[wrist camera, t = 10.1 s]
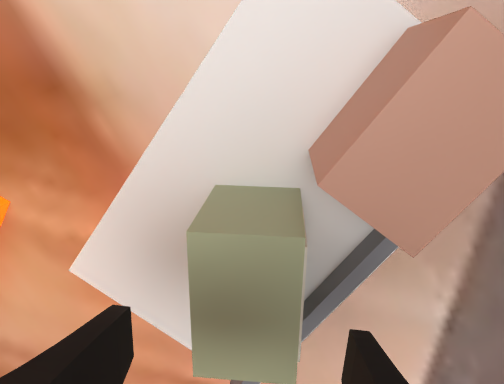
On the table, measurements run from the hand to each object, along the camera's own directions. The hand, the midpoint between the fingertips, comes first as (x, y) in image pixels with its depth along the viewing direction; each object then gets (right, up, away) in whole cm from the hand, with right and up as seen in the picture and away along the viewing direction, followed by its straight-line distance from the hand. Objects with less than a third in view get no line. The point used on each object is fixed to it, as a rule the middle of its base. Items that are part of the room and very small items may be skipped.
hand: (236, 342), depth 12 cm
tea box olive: (+1, +2, +9) cm, 9 cm away
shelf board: (+1, +5, +8) cm, 10 cm away
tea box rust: (+7, +8, +6) cm, 12 cm away
